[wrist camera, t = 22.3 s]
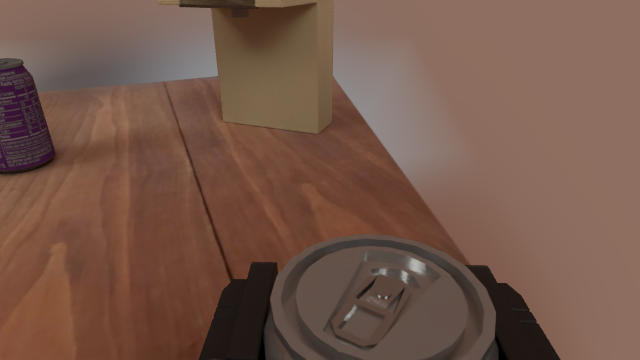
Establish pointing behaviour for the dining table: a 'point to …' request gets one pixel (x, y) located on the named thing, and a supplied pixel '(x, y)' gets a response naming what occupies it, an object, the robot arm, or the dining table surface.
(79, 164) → the dining table surface
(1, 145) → the beverage can
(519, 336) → the robot arm
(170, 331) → the dining table surface
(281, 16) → the lidded cardboard box
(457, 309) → the beer can
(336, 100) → the dining table surface
